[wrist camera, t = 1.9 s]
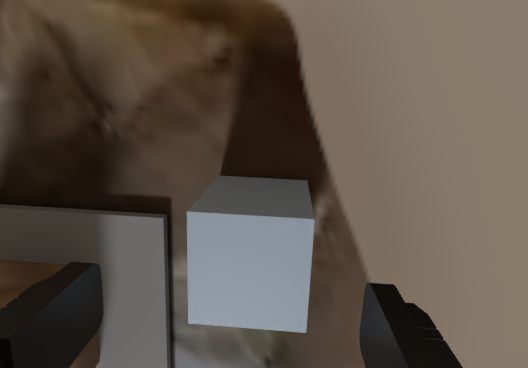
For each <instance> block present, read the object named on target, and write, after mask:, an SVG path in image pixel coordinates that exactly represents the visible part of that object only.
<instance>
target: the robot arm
mask: <svg viewBox="0 0 528 368" xmlns="http://www.w3.org/2000/svg"><path fill="white" fill-rule="evenodd" d="M103 312H104V307H103V292H102V277H101V268H100V266H99V265H98V264H97V263H84V262H70V263H68V264H67V265H66V266H65V267H63V268H62V269H61V270H59V271H58V272H57V273H56V274H54V275H53V276H52V277H49V278H46V279H44V280H42V281H40V282H38V283H36V284H33V285H31V286H30V287H29V288H27V289H26V290H25V291H23V292H22V293H21V294H20V295H18V298H14V299H13V300H12V301H10V302H9V303H8V304H6V307H2V308H1V309H0V368H69V367H70V366H71V365H72V363H73V362H74V361H75V360H76V358H77V357H78V356H79V354H80V353H81V352H82V351H83V349H84V348H85V347H86V345H87V344H88V343H89V342H90V340H91V339H92V338H93V336H94V335H95V334H96V333H97V331H98V330H99V328H100V325H101V323H102V319H103ZM360 348H361V353H362V356H363V360H364V363H365V366H366V368H463V367H462V366H461V364H460V363H459V361H458V360H457V358H456V357H455V355H454V354H453V352H452V351H451V349H450V347H449V346H448V345H447V343H446V341H443V337H442V336H441V334H440V333H439V331H438V330H436V326H435V325H434V323H433V322H432V320H431V319H430V317H429V316H428V314H427V313H425V312H424V311H423V310H421V309H420V308H419V307H418V306H416V305H415V304H413V303H405V302H404V300H403V298H402V297H401V295H400V293H399V291H398V290H397V288H396V287H395V285H393V284H379V283H367V285H366V288H365V294H364V302H363V309H362V317H361V325H360Z"/></svg>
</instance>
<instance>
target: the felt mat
mask: <svg viewBox="0 0 528 368" xmlns="http://www.w3.org/2000/svg"><path fill="white" fill-rule="evenodd" d="M0 260H9V261H23V262H38V263H52V264H66V265H67V264H68V263H70V262H84V263H97V264H98V265H99V266H100V268H101V277H102V292H103V307H104V312H103V319H102V323H101V325H100V328H99V330H98V331H97V336H98V348H99V363H98V364H97V366H96V367H95V368H171V355H170V313H169V270H168V228H167V214H151V213H135V212H118V211H102V210H86V209H70V208H53V207H37V206H21V205H4V204H0Z"/></svg>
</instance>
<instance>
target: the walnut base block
mask: <svg viewBox="0 0 528 368" xmlns="http://www.w3.org/2000/svg"><path fill="white" fill-rule="evenodd" d="M65 266H66V264H52V263H38V262H23V261H9V260H0V309H1V308H2V307H6V304H8V303H9V302H10V301H12V300H13V299H14V298H18V295H20V294H21V293H22V292H23V291H25V290H26V289H27V288H29V287H30V286H31V285H33V284H36V283H38V282H40V281H42V280H44V279H46V278H49V277H52V276H53V275H54V274H56V273H57V272H58V271H59V270H61V269H62V268H63V267H65ZM98 363H99V348H98V336H97V333H96V334H95V335H94V336H93V338H92V339H91V340H90V342H89V343H88V344H87V345H86V347H85V348H84V349H83V351H82V352H81V353H80V354H79V356H78V357H77V358H76V360H75V361H74V362H73V363H72V365H71V366H70V367H69V368H95V367H96V366H97V364H98Z"/></svg>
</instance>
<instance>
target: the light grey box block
mask: <svg viewBox="0 0 528 368" xmlns="http://www.w3.org/2000/svg"><path fill="white" fill-rule="evenodd" d="M314 222H315V218H314V213H313V208H312V203H311V197H310V192H309V187H308V182H307V180H291V179H273V178H255V177H236V176H218V178H217V179H216V180H215V181H214V182H213V183H212V184H211V185H210V186H209V188H208V189H207V190H206V191H205V192H204V193H203V194H202V195H201V196H200V198H199V199H198V200H197V201H196V202H195V203H194V204H193V205H192V206H191V208H190V209H189V210H188V211H187V260H188V323H190V324H203V325H215V326H228V327H240V328H253V329H265V330H278V331H291V332H303V333H306V327H307V314H308V301H309V288H310V274H311V261H312V248H313V235H314Z"/></svg>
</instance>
